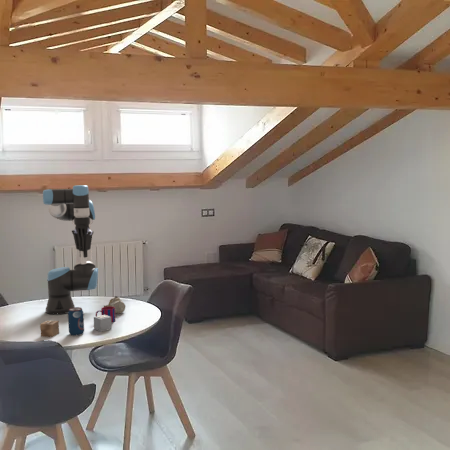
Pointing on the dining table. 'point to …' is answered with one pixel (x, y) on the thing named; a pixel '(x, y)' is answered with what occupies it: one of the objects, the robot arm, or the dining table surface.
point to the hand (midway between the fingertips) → (84, 263)
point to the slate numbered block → (102, 323)
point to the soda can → (76, 321)
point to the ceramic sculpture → (117, 305)
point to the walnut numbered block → (49, 328)
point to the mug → (108, 312)
